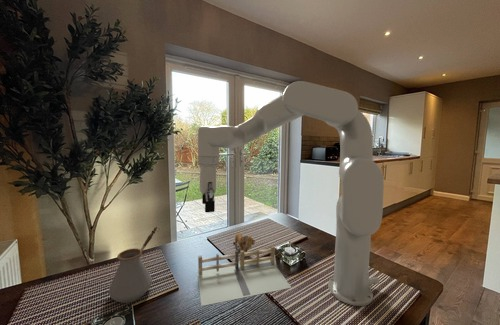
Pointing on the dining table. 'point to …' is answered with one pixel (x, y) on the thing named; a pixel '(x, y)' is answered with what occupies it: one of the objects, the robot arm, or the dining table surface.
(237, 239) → the lion figurine
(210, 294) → the card
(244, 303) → the dining table surface
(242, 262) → the fixed fence
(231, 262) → the fence panel
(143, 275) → the coffee pot
